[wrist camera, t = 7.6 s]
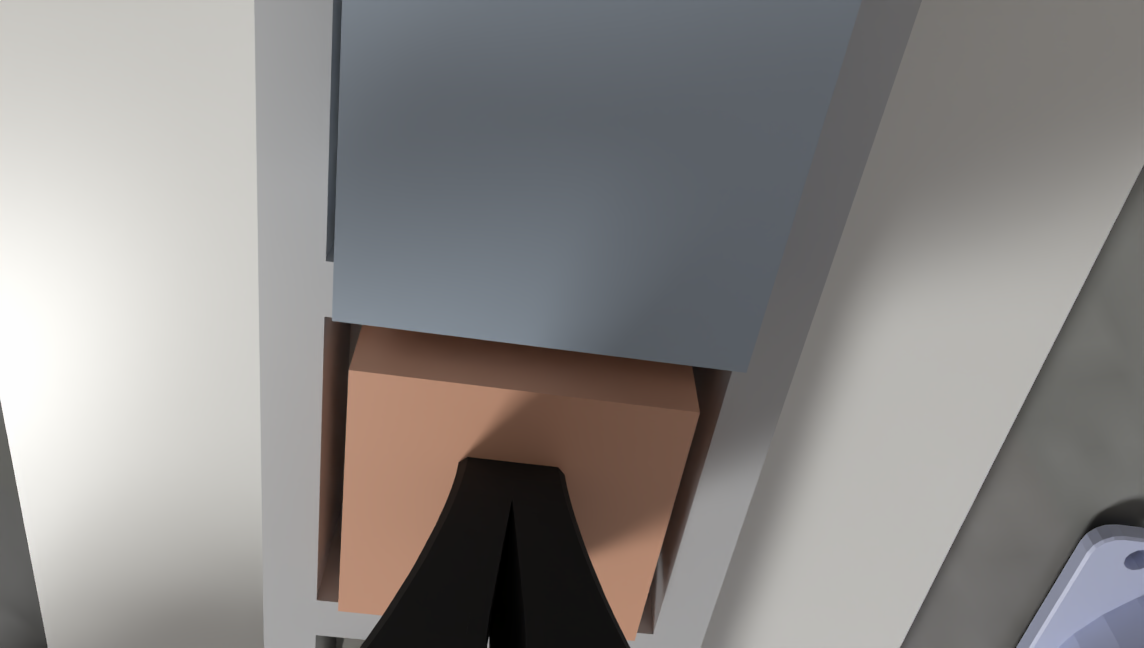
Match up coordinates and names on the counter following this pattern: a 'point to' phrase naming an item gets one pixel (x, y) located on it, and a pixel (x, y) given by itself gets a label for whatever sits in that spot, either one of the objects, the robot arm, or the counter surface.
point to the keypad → (325, 348)
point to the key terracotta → (508, 451)
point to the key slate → (578, 167)
